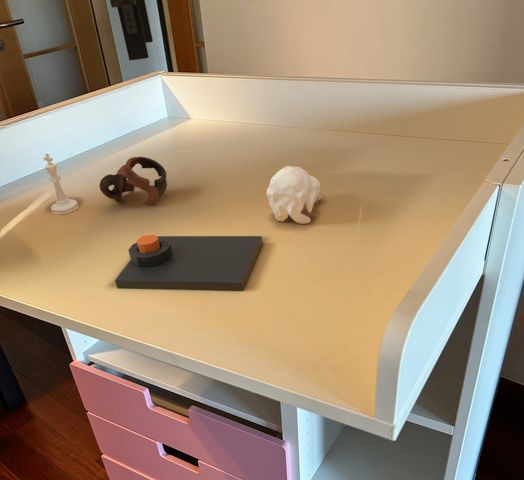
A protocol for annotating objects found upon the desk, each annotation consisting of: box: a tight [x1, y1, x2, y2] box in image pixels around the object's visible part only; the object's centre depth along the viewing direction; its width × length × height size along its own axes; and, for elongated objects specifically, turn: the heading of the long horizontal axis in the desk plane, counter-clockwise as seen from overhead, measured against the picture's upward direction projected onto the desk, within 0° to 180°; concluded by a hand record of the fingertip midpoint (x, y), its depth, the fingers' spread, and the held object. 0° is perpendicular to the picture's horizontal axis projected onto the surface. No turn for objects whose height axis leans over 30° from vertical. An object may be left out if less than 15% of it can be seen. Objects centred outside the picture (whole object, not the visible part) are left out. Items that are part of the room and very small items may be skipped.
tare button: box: [136, 234, 160, 253], centre depth 80 cm, size 3×3×2 cm
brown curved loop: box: [99, 156, 168, 206], centre depth 100 cm, size 12×10×8 cm
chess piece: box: [43, 153, 80, 215], centre depth 100 cm, size 5×5×10 cm
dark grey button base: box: [114, 235, 264, 292], centre depth 80 cm, size 18×13×3 cm
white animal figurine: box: [266, 165, 323, 225], centre depth 88 cm, size 6×8×12 cm
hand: (142, 50), depth 85 cm, fingers open, 13 cm apart
